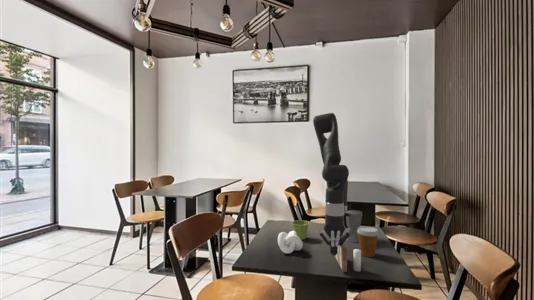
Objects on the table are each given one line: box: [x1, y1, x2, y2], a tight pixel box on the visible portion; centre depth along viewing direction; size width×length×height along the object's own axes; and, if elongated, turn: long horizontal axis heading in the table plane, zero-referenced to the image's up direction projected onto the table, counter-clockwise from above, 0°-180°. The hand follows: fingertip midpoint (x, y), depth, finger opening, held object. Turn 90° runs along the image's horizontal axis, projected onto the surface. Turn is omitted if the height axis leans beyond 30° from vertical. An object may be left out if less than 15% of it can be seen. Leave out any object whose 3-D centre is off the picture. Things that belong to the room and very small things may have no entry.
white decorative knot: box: [277, 230, 304, 254], centre depth 140 cm, size 11×12×9 cm
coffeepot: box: [344, 206, 363, 243], centre depth 156 cm, size 15×9×18 cm, turn 129°
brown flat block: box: [335, 237, 348, 273], centre depth 123 cm, size 16×2×10 cm, turn 178°
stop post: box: [352, 248, 362, 272], centre depth 119 cm, size 3×3×8 cm
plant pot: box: [291, 220, 310, 241], centre depth 159 cm, size 9×9×9 cm
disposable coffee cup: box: [357, 226, 379, 258], centre depth 136 cm, size 10×10×12 cm
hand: (333, 254), depth 120 cm, fingers closed
